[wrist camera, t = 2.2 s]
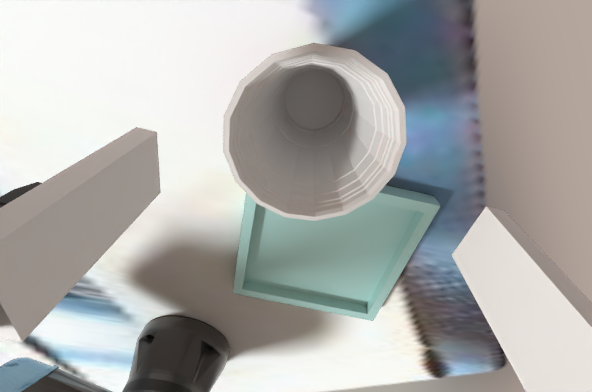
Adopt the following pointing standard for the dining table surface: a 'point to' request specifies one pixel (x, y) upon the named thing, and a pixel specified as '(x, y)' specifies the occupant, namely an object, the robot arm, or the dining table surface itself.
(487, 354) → the dining table surface
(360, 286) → the tray
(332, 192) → the plastic cup
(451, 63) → the dining table surface
